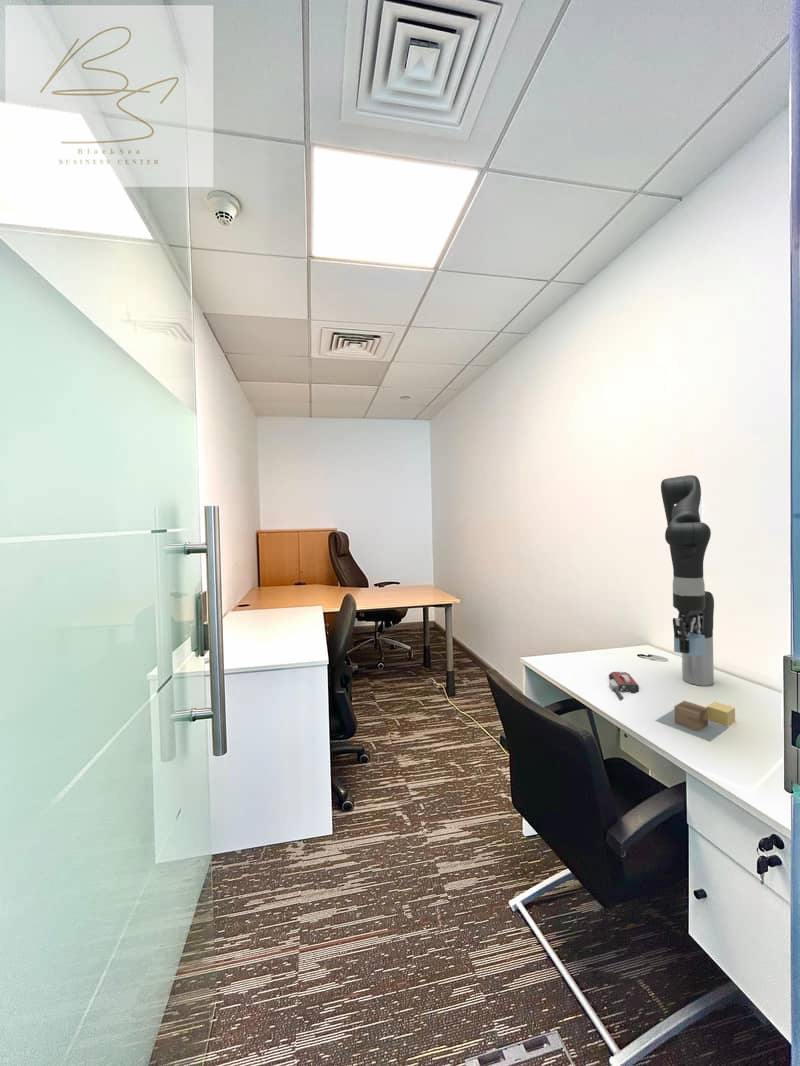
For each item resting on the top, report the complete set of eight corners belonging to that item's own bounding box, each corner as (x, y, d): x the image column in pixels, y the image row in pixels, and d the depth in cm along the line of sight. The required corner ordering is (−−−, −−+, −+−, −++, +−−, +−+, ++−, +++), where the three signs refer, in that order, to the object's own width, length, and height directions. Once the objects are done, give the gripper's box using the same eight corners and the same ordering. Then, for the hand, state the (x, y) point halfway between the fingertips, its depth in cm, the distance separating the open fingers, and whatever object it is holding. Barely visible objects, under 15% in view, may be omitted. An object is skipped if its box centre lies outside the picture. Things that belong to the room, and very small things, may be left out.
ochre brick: (714, 717, 124) (714, 701, 124) (735, 724, 120) (734, 707, 120) (707, 722, 121) (707, 706, 121) (727, 729, 117) (727, 712, 117)
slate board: (675, 711, 128) (675, 708, 128) (729, 730, 116) (729, 727, 116) (655, 723, 122) (655, 720, 122) (710, 745, 110) (710, 741, 110)
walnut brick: (684, 716, 123) (684, 700, 123) (707, 724, 118) (707, 707, 118) (674, 722, 120) (674, 706, 120) (698, 731, 115) (697, 714, 115)
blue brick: (683, 647, 122) (683, 631, 122) (704, 652, 117) (704, 635, 117) (674, 651, 119) (673, 634, 119) (695, 656, 115) (695, 639, 114)
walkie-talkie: (603, 678, 157) (618, 702, 137) (602, 666, 157) (618, 689, 137) (628, 679, 155) (647, 703, 135) (628, 667, 155) (647, 690, 135)
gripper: (685, 587, 124) (686, 642, 125) (661, 594, 117) (662, 652, 118) (715, 590, 118) (716, 648, 119) (691, 597, 111) (692, 659, 111)
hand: (689, 650), depth 118 cm, fingers closed on blue brick, 5 cm apart
